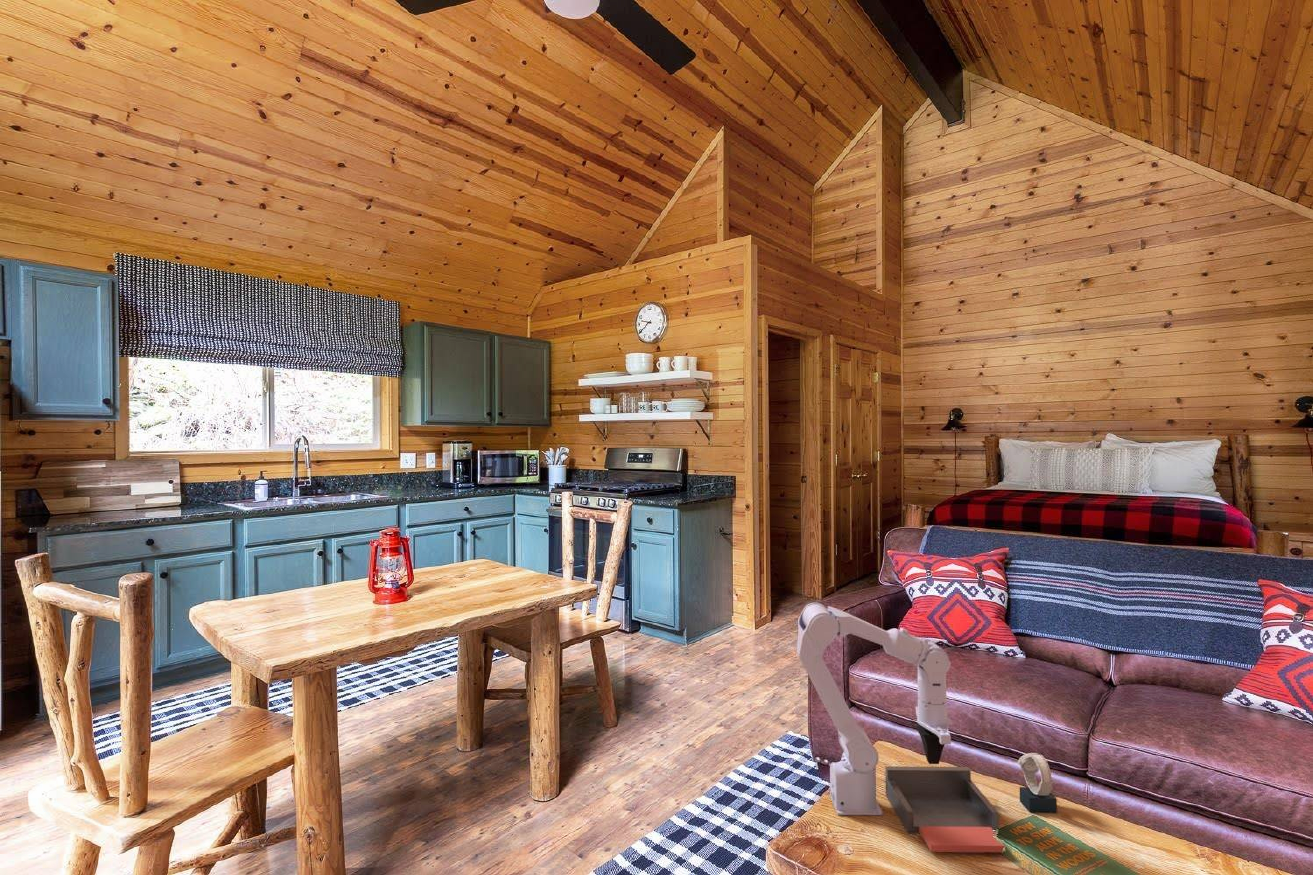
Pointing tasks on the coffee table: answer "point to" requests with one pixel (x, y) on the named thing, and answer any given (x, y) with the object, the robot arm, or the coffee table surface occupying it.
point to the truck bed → (937, 798)
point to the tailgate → (960, 839)
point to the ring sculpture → (1034, 794)
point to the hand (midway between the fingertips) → (932, 762)
